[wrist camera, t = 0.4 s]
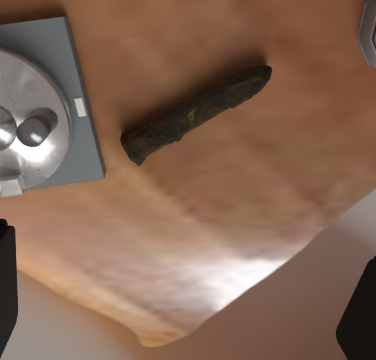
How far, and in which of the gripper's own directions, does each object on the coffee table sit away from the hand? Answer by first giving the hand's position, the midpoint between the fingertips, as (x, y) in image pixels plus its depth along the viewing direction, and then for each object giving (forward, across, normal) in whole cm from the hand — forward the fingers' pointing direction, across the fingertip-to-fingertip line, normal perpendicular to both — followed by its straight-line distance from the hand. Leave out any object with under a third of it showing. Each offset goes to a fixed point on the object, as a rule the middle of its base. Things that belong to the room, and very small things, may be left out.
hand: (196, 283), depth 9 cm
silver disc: (+31, +17, +6) cm, 36 cm away
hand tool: (+34, -4, +2) cm, 34 cm away
